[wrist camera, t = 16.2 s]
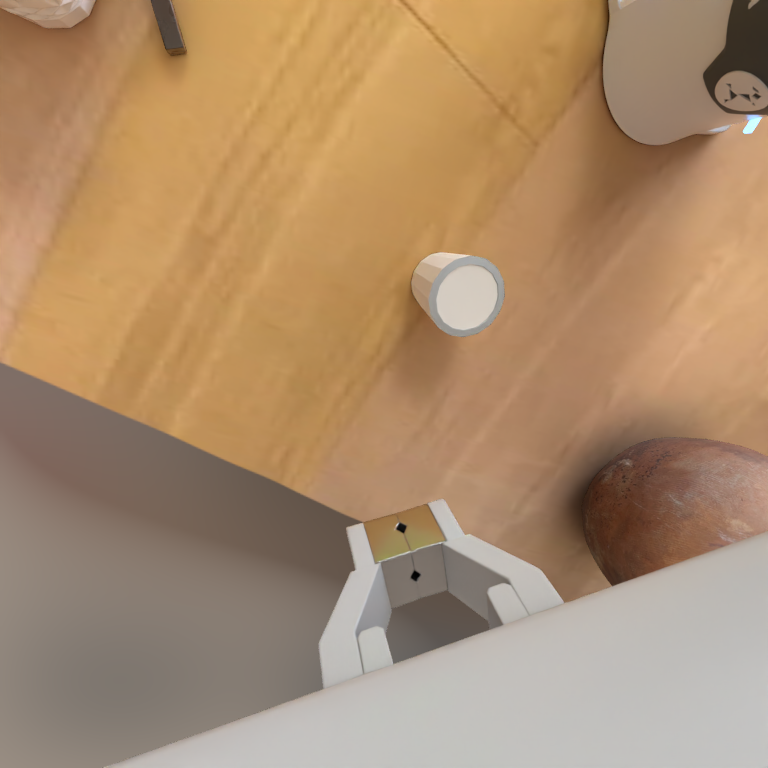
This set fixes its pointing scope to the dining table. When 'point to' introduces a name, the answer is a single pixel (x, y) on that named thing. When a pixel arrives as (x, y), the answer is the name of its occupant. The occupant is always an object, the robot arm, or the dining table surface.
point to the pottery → (673, 504)
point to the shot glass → (458, 292)
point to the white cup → (50, 11)
